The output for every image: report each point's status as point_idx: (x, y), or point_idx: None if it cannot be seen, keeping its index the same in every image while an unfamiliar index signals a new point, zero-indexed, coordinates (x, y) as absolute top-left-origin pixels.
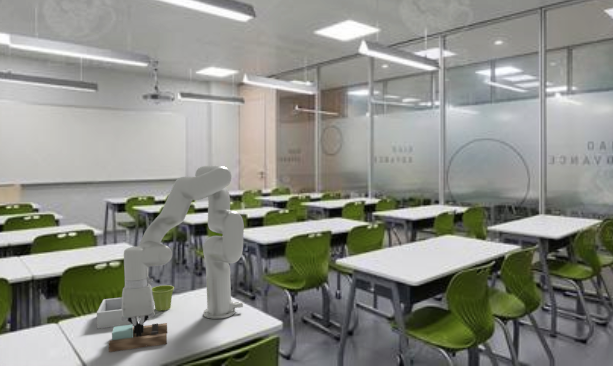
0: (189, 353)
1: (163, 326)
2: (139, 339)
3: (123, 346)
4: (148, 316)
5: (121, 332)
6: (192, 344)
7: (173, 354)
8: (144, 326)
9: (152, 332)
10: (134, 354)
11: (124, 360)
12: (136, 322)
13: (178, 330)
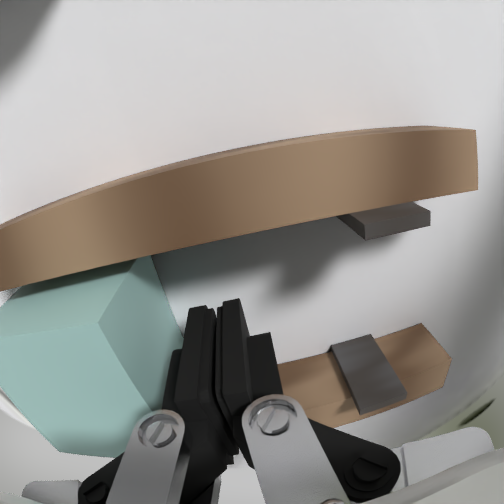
0: (464, 404)
1: (447, 190)
2: None
3: None
4: (393, 487)
5: (113, 455)
6: (497, 343)
7: (420, 421)
8: (238, 182)
9: (369, 408)
10: None
11: (227, 467)
12: (215, 480)
13: (485, 142)
